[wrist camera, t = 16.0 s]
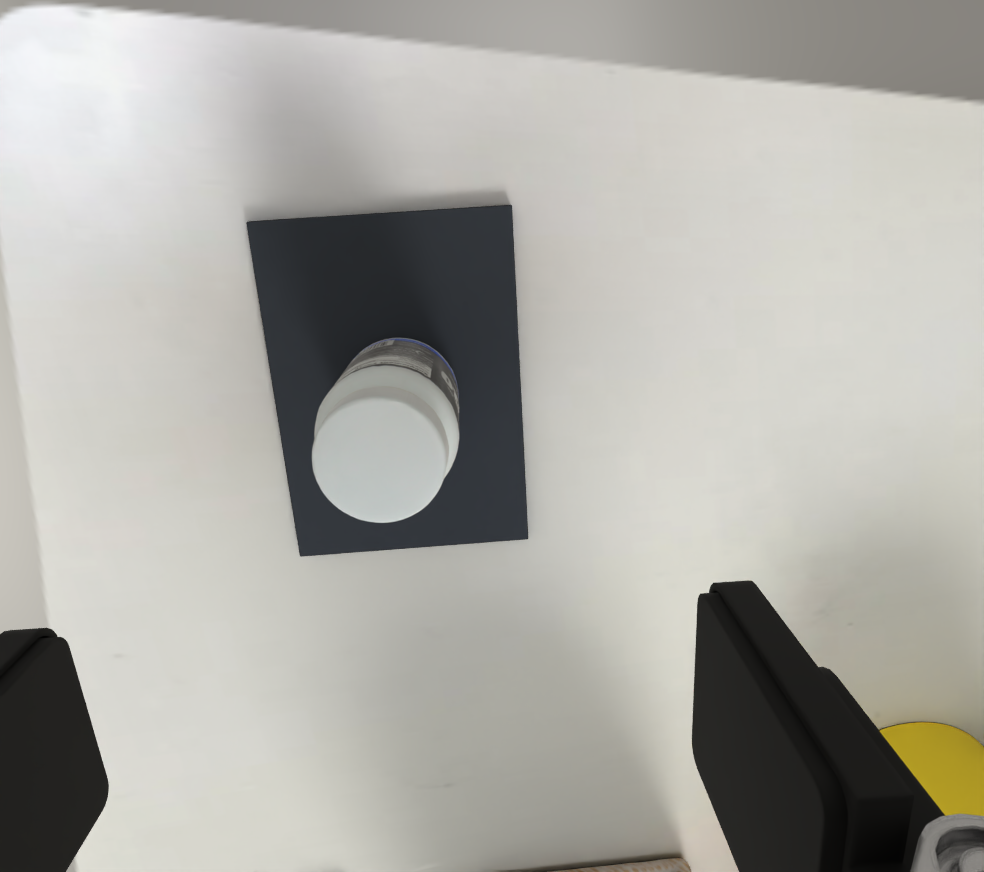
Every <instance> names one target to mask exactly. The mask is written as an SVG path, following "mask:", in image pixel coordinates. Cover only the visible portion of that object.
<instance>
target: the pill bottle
mask: <svg viewBox="0 0 984 872" xmlns="http://www.w3.org/2000/svg"><path fill="white" fill-rule="evenodd" d="M314 437H315V439H314V443H313V448H312V466H313V472H314V475H315V478H316V481H317V483H318V485H319V487H320V488H321V490H322V492H323V493H324V495H325V496H326V497H327V498H328V499H329V501H330V502H331V503H332V504H333V505H335V506H336V507H337V508H338V509H340V510H341V511H343V512H344V513H346V514H348V515H350V516H352V517H355V518H357V519H360V520H364V521H368V522H375V523H388V522H395V521H399V520H403V519H405V518H408V517H410V516H412V515H414V514H416V513H418V512H419V511H420V510H422V509H423V508H424V507H426V506H427V505H428V504H429V503H430V502H431V500H432V499H433V498H434V497H435V496H436V494H437V492H438V491H439V489H440V487H441V485H442V483H443V480H444V478H445V477H446V475H447V474H448V472H449V471H450V469H451V467H452V465H453V462H454V460H455V457H456V454H457V450H458V445H459V393H458V386H457V381H456V378H455V375H454V373H453V370H452V369H451V367H450V365H449V364H448V362H447V361H446V360H445V359H444V358H443V357H442V356H441V355H440V354H439V353H438V352H437V351H436V350H435V349H433V348H432V347H430V346H429V345H427V344H425V343H422V342H420V341H417V340H413V339H408V338H389V339H384V340H381V341H378V342H376V343H373V344H371V345H370V346H368V347H366V348H365V349H363V350H362V351H361V352H360V353H359V354H358V355H357V356H356V357H355V358H354V359H353V360H352V361H351V363H350V364H349V365H348V367H347V368H346V369H345V371H344V372H343V373H342V375H341V376H340V378H339V379H338V380H337V382H336V383H335V385H334V386H333V387H332V388H331V390H330V391H329V392H328V393H327V395H326V397H325V398H324V400H323V401H322V403H321V405H320V407H319V410H318V413H317V418H316V423H315V431H314Z"/></svg>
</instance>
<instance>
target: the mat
mask: <svg viewBox="0 0 984 872" xmlns="http://www.w3.org/2000/svg"><path fill="white" fill-rule="evenodd" d="M247 230H248V236H249V242H250V248H251V255H252V261H253V267H254V273H255V279H256V286H257V292H258V298H259V304H260V310H261V317H262V323H263V329H264V335H265V342H266V348H267V354H268V360H269V366H270V373H271V379H272V385H273V391H274V397H275V404H276V410H277V416H278V422H279V428H280V435H281V441H282V447H283V453H284V460H285V466H286V472H287V478H288V484H289V491H290V497H291V503H292V509H293V515H294V522H295V528H296V534H297V540H298V546H299V553H300V556H313V555H326V554H339V553H352V552H366V551H379V550H392V549H405V548H418V547H431V546H444V545H457V544H470V543H484V542H497V541H510V540H523V539H528V523H527V503H526V483H525V463H524V442H523V422H522V402H521V381H520V361H519V341H518V321H517V300H516V280H515V260H514V239H513V219H512V205H500V206H485V207H469V208H453V209H437V210H422V211H406V212H390V213H375V214H359V215H343V216H327V217H312V218H296V219H280V220H264V221H249V222H247ZM389 338H408V339H413V340H417V341H420V342H422V343H425V344H427V345H429V346H430V347H432V348H433V349H435V350H436V351H437V352H438V353H439V354H440V355H441V356H442V357H443V358H444V359H445V360H446V361H447V362H448V364H449V365H450V367H451V369H452V370H453V373H454V375H455V378H456V381H457V386H458V393H459V445H458V450H457V454H456V457H455V460H454V462H453V465H452V467H451V469H450V471H449V472H448V474H447V475H446V477H445V478H444V480H443V483H442V485H441V487H440V489H439V491H438V492H437V494H436V496H435V497H434V498H433V499H432V500H431V502H430V503H429V504H428V505H427V506H426V507H424V508H423V509H422V510H420V511H419V512H418V513H416V514H414V515H412V516H410V517H408V518H405V519H403V520H399V521H395V522H388V523H375V522H368V521H364V520H360V519H357V518H355V517H352V516H350V515H348V514H346V513H344V512H343V511H341V510H340V509H338V508H337V507H336V506H335V505H333V504H332V503H331V502H330V501H329V499H328V498H327V497H326V496H325V495H324V493H323V492H322V490H321V488H320V487H319V485H318V483H317V481H316V478H315V475H314V472H313V466H312V448H313V443H314V439H315V437H314V431H315V423H316V418H317V413H318V410H319V407H320V405H321V403H322V401H323V400H324V398H325V397H326V395H327V393H328V392H329V391H330V390H331V388H332V387H333V386H334V385H335V383H336V382H337V380H338V379H339V378H340V376H341V375H342V373H343V372H344V371H345V369H346V368H347V367H348V365H349V364H350V363H351V361H352V360H353V359H354V358H355V357H356V356H357V355H358V354H359V353H360V352H361V351H362V350H363V349H365V348H366V347H368V346H370V345H371V344H373V343H376V342H378V341H381V340H384V339H389Z"/></svg>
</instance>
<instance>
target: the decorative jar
mask: <svg viewBox="0 0 984 872" xmlns="http://www.w3.org/2000/svg"><path fill="white" fill-rule="evenodd" d="M549 872H691V869H690V866H689V864H688V862H687V861H686V860H684V859H681V858H671V859H660V860H654V861H647V862H638V863H625V864H617V865H607V866H598V867H588V868H580V869H570V870H559V871H549Z"/></svg>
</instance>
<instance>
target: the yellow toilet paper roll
mask: <svg viewBox="0 0 984 872" xmlns="http://www.w3.org/2000/svg"><path fill="white" fill-rule="evenodd" d="M879 731H880V732H881V734H882V735H883V736H884V738H885V739H886V740H887V741H888V743H889V744H890V745H891V747H892V748H893V749H894V750H895V752H896V753H897V754H898V756H899V757H900V758H901V759H902V761H903V762H904V763H905V765H906V766H907V767H908V768H909V770H910V771H911V772H912V774H913V775H914V776H915V777H916V779H917V780H918V781H919V783H920V784H921V785H922V786H923V788H924V789H925V790H926V791H927V793H928V794H929V795H930V797H931V798H932V799H933V800H934V802H935V803H936V804H937V806H938V807H939V808H940V809H941V811H942V812H943V813H944V815H945V816H947V815H954V814H969V815H978V816H984V746H983V745H982V744H981V743H980V742H979V741H977V740H976V739H975V738H974V737H972V736H971V735H969V734H968V733H966V732H964V731H962V730H960V729H957V728H955V727H952V726H948V725H944V724H939V723H930V722H916V723H906V724H900V725H896V726H892V727H888V728H885V729H882V730H879Z"/></svg>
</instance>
